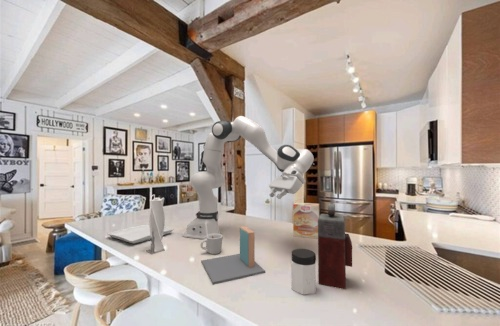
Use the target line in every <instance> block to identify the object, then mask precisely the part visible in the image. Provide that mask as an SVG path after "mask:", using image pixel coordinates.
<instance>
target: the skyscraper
mask: <svg viewBox="0 0 500 326" xmlns="http://www.w3.org/2000/svg"><path fill="white" fill-rule="evenodd" d="M152 197H153V199H152ZM149 203H150V213H149V223H148V224H149V225H150V236H151V239H150V240H151V243H150V246H149V249H146V250H145V251H146V252H147V253H149V254H150V255H155V254H158V253H162V252H165V250H166V249H165V248H164V244H163V236H164V235H163V232H164V227H166V225H165V223H166V222H165V219H166V218H165V211H164V203H165V197H162V198H161V197H156V194H152V195H151V196H150V197H149Z"/></svg>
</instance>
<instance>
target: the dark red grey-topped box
mask: <svg viewBox="0 0 500 326" xmlns="http://www.w3.org/2000/svg"><path fill="white" fill-rule="evenodd" d="M335 208H336V206H335V203H328V204H327V213H321V214H320V213H319V219H318V239H317V259H318V260H317V261H318V262H317V263H318V264H317V265H318V269H317V270H318V271H317V273H318V274H317V276H318V278H317V279H318V281H317V282H318V285H319V286H320V285H321V286H326V287H331V288H335V287H336V289H340V288H341V289H342V290H346V289H347V286H346V285H347V283H346V282H347V279H346V277H347V274H346V267H351V268H352V267H353V244H352V239H351V237H350V234H349V233H346V221H345V219H346V218H345V215H343V214H336V209H335Z"/></svg>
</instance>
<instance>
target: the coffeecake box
mask: <svg viewBox="0 0 500 326" xmlns="http://www.w3.org/2000/svg"><path fill="white" fill-rule="evenodd" d="M292 205H293V206H292V210H293V212H292V213H293V214H292V215H293V217H292V218H293V219H292V224H293V225H292V226H293V227H292V228H293V230H292V231H293V233H292V234H293V237H298V238H308V239H316V240H318V219H319V216H320V203H314V202H313V203H311V202H297V201H296V202H294V203H293V204H292Z"/></svg>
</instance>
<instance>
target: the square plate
mask: <svg viewBox="0 0 500 326" xmlns="http://www.w3.org/2000/svg"><path fill="white" fill-rule="evenodd" d="M174 229H175V228H172V227H167V226H164V232H163V236H164V235H168V234H170V233H172V232H173V231H174ZM106 234H107V235H108V236H109V237H111V238H113V239H114V238H115V239H117V240H120V241H124V242H127V243H129V244H139V242H140V243H144V242H146V240H147V241H149V239H150V240H151V236H150V225H149V223H146V224H141V225H136V226H130V227H126V228H122V229H118V230H114V231H111V232H107V233H106Z"/></svg>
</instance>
